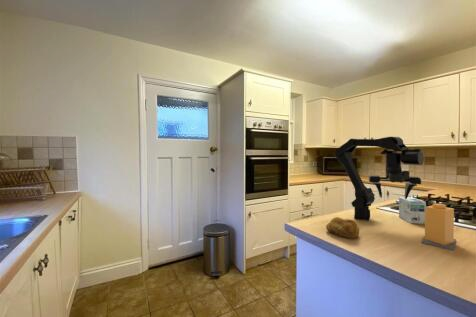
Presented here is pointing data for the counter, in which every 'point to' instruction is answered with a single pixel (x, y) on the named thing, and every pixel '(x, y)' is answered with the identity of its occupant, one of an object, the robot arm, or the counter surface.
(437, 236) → the orange toy brick
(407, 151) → the robot arm
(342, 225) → the bread roll
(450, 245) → the plate
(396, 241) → the counter surface
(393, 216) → the counter surface
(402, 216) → the light bulb box
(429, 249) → the counter surface
